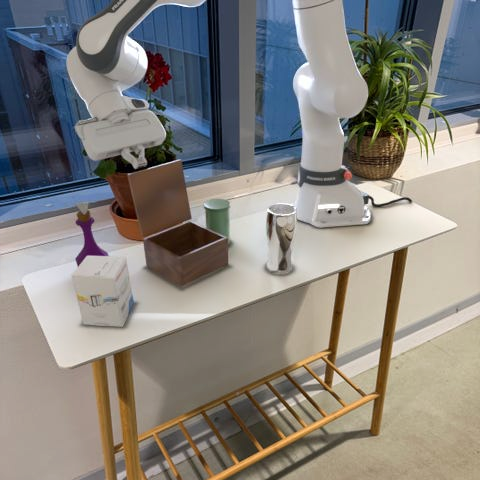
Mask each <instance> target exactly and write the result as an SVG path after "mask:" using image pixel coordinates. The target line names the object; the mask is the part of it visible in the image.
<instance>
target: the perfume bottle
mask: <svg viewBox="0 0 480 480" xmlns="http://www.w3.org/2000/svg"><path fill="white" fill-rule="evenodd" d="M89 203H90V202H89V201H81V202H77V203H75V206H76V207H77V208H78V209H79V211H78V212H77V213H76V217H77V219H76V220H75V225H76V226H78V227H80V229H81V231H82V233H83V239H84V240H83V247H82V249H81V250H80V252H79V253H78V254H77V255H76V257H75V258H74V259H75V263H76V266H77V267H78V266H79V265H80V264H81V263H82V261H83V260H84V259H85V258H86V256H88V255H89V256H110V255H109V254H108V252H107V251H106V250H104V249H103V248H101V247H100V246H99V245H98V244H97V242H96V239H95V237H94V234H93V231H92V225H93V224H94V223H95V218H94V217H92V216H91V211H90V209H89V210H88V208H89Z"/></svg>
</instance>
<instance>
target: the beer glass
mask: <svg viewBox="0 0 480 480" xmlns="http://www.w3.org/2000/svg"><path fill="white" fill-rule="evenodd" d="M297 229H298V219H297V208H296V207H294V205H293V204H290V203H274V204H270V205H269V206H268V207H267V209H266V220H265V235H266V236H265V238H266V243H267V249H268V257H267V258H268V259H267V263H266V268H267V269H268V271H270V273H271V274H273V275H280V276H281V275H282V276H283V275H287V274H289V273H291V271H292V270H293V264H292V252H293V249H294V246H295V245H294V244H295V240H296V236H297Z"/></svg>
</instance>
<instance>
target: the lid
mask: <svg viewBox="0 0 480 480" xmlns="http://www.w3.org/2000/svg"><path fill="white" fill-rule="evenodd" d="M126 176H127V180H128V184H129V188H130V193H131V197H132V202H133V206H134V210H135V214H136V218H137V222H138V223H137V224H138V227H139V232H140V235H141V236H140V237H142V238H146V237H149V236H152V235H154V234H157V233H159V232H162V231H165V230H167V229H170V228H173V227H175V226H178V225H181V224H183V223H186V222H188V221H191V220H192V219H193V218H192V212H191V208H190V202H189V196H188V191H187V183H186V179H185V178H186V177H185V172H184V167H183V162H182V159H177V160H173V161H170V162H166V163H161V164H159V165H155V166H152V167H148V168H145V169H141V170H138V171H134V172H131V173H127V175H126Z"/></svg>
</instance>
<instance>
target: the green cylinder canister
mask: <svg viewBox="0 0 480 480" xmlns="http://www.w3.org/2000/svg"><path fill="white" fill-rule="evenodd" d="M203 208H204V213H205V215H204V216H205V227H206V228H208V229H210V230H212V231H215V232H217V233H219V234H221V235H223V236H225V237H227V238H228V245H229V244H230V243H231V234H230V233H231V229H230V226H231V225H230V223H231V222H230V208H231V202H230V201H229V200H228V199H225V198H212V199H208V200H206V201H204V202H203Z"/></svg>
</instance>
